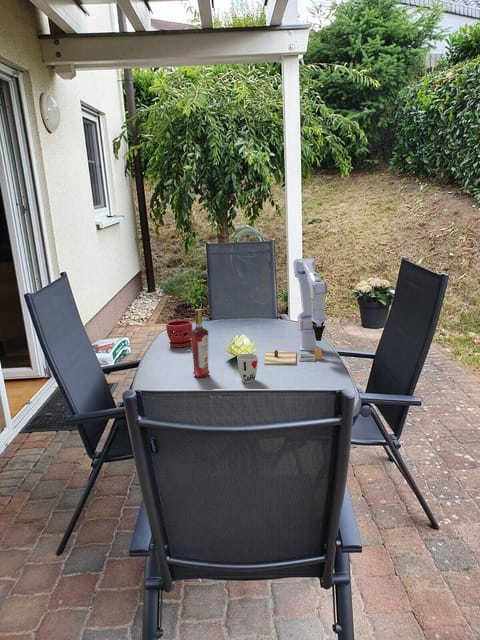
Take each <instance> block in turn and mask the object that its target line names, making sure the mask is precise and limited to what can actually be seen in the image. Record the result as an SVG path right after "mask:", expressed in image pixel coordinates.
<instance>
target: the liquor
mask: <svg viewBox="0 0 480 640" xmlns="http://www.w3.org/2000/svg"><path fill="white" fill-rule="evenodd" d="M194 312H195V315H194V316H195V328H192V331H191V332H190V333H191V339H190V340H191V344H190V345H191V349H192V350H191V351H192V359H193V372H192V373H193V375H194V376H195V377H197V378H205V377H207V376H208V375H209V374H210V373H211V372H210V370H209V330H208V329H206V328H204V327H203V319H202V317H203V316H202V314H203V310H202V309H201V308H198V309H197V308H196V309H195V310H194Z"/></svg>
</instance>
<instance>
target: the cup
mask: <svg viewBox="0 0 480 640" xmlns="http://www.w3.org/2000/svg"><path fill="white" fill-rule="evenodd" d="M236 358H237V367H238V373H239V376H240V379H241V382H242V383H248V384H249V383H254V382H255V381H256V377H257V371H258V361H259V360H258V359H259V356H258V355H257V354H255V353H242V354H239V355H237V357H236Z"/></svg>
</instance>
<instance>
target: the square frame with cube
mask: <svg viewBox="0 0 480 640" xmlns="http://www.w3.org/2000/svg"><path fill="white" fill-rule="evenodd" d="M298 356H299V357H298V359H299V362H315V361H318V360H319V361H322V360H323V348H322V346H321V347H319V346H317V347H315V351H314V353H299V355H298Z"/></svg>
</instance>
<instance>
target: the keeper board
mask: <svg viewBox="0 0 480 640" xmlns="http://www.w3.org/2000/svg"><path fill="white" fill-rule="evenodd" d="M263 365H265V366H268V365H269V366H270V365H271V366H272V365H273V366H274V365H275V366H296V365H297V351H296V350H277V349H275V350H266V351H265V357H264V361H263Z"/></svg>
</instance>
